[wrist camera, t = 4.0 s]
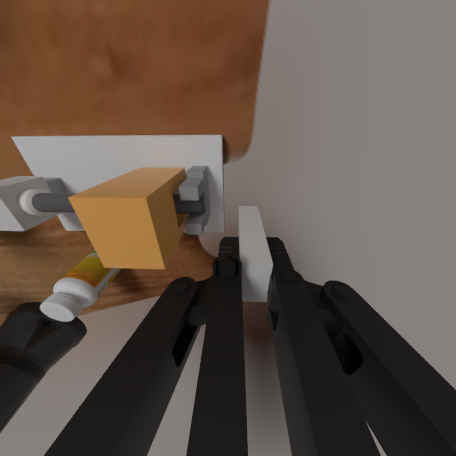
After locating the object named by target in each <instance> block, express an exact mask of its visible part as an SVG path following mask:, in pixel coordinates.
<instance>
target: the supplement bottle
mask: <svg viewBox="0 0 456 456" xmlns="http://www.w3.org/2000/svg"><path fill="white" fill-rule="evenodd" d="M121 269H122V268H104V266H103V264H102V262H101V260H100V258H99V256H98V254H97V252H96V251H95V250H94V251H93V252H91V253H90V254H89V255H88V256H87V257H85V258H84V259H83V260H82V261H81V262H80V263H79V264H77V265H76V266H75V267H74V268H73V269H72V270H70V271H69V272H68V273H67V274H66V275H65V276H63V277H62V278H61V279H60V280H59V281H58V282H57V283H56V284H55V285H54V288H53V292H54V294H52V295H51V296H49V297H48V298H47V299H46V300H45V301H44V302H43V303H42V304H41V305H40V310H41V311H42V312H43V313H44V314H45V315H47V316H48V317H50V318H52V319H55V320H58V321H63V322H68V321H72V320H73V319H74V318H75V317H76V316H77V315H78V314H79V313H80V311H81V310H82V308H84V307H88V306H90V305H92V304H93V303H94V302H95V301H96V300H97V299H98V298H99V296H100V295H101V294H102V293H103V291H104V290H105V289H106V288H107V287H108V285H109V284H110V283H111V282H112V280H113V279H114V278H115V277H116V275H117V274H118V273H119V272H120V270H121Z"/></svg>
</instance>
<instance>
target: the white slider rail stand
mask: <svg viewBox="0 0 456 456" xmlns="http://www.w3.org/2000/svg"><path fill="white" fill-rule="evenodd" d="M11 138H12V139H13V141H14V143H15V144H16V146H17V148H18V149H19V151H20V153H21V155H22V156H23V158H24V160H25V161H26V163H27V165H28V166H29V168H30V170H31V172H32V173H33V175H34V176H16V177H12V178H7V179H3V180H0V231H26V230H28V229H30V228H32V227H34V226H36V225H38V224H40V223H43V222H45V221H47V220H49V219H51V218H53V217H55V216H58V217H59V219H60V221H61V222H62V224H63V226H64V228H65V229H66V230H70V231H85V229H84V228H83V226H82V224H81V222H80V220H79V218H78V216H77V214H76V212H75V210H74V208H73V206H72V205H71V203H70V201H69V199H68V197H70V196H72V195H75V194H77V193H80V192H82V191H84V190H87V189H89V188H92V187H94V186H96V185H99V184H101V183H104V182H106V181H108V180H111V179H113V178H116V177H118V176H120V175H123V174H125V173H128V172H130V171H132V170H135V169H137V168H140V167H179V168H185V172H186V180H185V181H184V182H183V183H182V184H181V185H180V186H179V187H178V188H177V189H176V190H175V191H174V192H173V199H174V204H175V210H176V214H190V215H189V216H188V218H187V220H186V222H185V231H184V232H186V234H188V235H202V234H203V233H224V183H223V182H224V181H223V135H121V136H17V137H11Z"/></svg>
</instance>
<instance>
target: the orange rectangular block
mask: <svg viewBox="0 0 456 456" xmlns="http://www.w3.org/2000/svg"><path fill="white" fill-rule="evenodd" d="M185 180H186V172H185V168H179V167H140V168H137V169H135V170H132V171H130V172H128V173H125V174H123V175H120V176H118V177H116V178H113V179H111V180H108V181H106V182H104V183H101V184H99V185H96V186H94V187H92V188H89V189H87V190H84V191H82V192H80V193H77V194H75V195H72V196H70V197H68V199H69V201H70V203H71V205H72V206H73V208H74V210H75V212H76V214H77V216H78V218H79V220H80V222H81V224H82V226H83V228H84V229H85V231H86V233H87V235H88V237H89V239H90V241H91V243H92V245H93V247H94V249H95V251H96V252H97V254H98V256H99V258H100V260H101V262H102V264H103V266H104V268H134V269H166V267H167V265H168V263H169V261H170V259H171V257H172V255H173V253H174V251H175V249H176V247H177V245H178V243H179V241H180V239H181V237H182V235H183V233H184V231H185V222H186V220H187V218H188V216H189V215H190V214H176V210H175V204H174V199H173V192H174V191H175V190H176V189H177V188H178V187H179V186H180V185H181V184H182V183H183V182H184V181H185Z"/></svg>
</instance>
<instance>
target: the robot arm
mask: <svg viewBox="0 0 456 456" xmlns="http://www.w3.org/2000/svg"><path fill="white" fill-rule="evenodd" d="M267 296H268V301H269V306H268V312H267V319H266V321H268V320H269V321H270V327H271V333H272V338H273V345H274V351H275V357H276V363H277V369H278V374H279V381H280V386H281V392H282V399H283V405H284V411H285V417H286V423H287V429H288V434H289V441H290V447H291V453H292V456H381V455H380V453H379V451H378V449H377V446H376V444H375V442H374V439H373V437H372V435H371V432H370V430H369V428H368V426H367V423H368V425H369V427H370V428H371V430H372V432H373V433H374V435H375V437H376V438H377V440H378V442H379V443H380V445H381V447H382V448H383V450H384V452H385V453H386V455H387V456H456V390H455V389H454V388H453V387H452V386H451V385H450V384H449V383H448V382H447V381H446V380H445V379H444V378H443V377H442V376H441V375H440V374H439V373H438V372H437V371H436V370H435V369H434V368H433V367H432V366H431V365H430V364H429V363H428V362H427V361H426V360H425V359H424V358H423V357H421V355H420V354H419V353H418V352H417V351H416V350H415V349H414V348H413V347H412V346H411V345H409V343H408V342H407V341H406V340H405V339H403V338H402V337H401V336H400V335H399V334H398V333H397V332H396V331H395V330H394V329H393V328H392V327H391V326H390V325H389V324H388V323H387V322H386V321H385V320H384V319H383V318H382V317H381V316H380V315H379V314H378V313H377V312H376V311H375V310H374V309H373V308H372V307H371V306H370V305H369V304H368V303H367V302H366V301H365V300H364V299H363V298H362V297H361V296H360V295H359V294H358V293H357V292H356V291H355V290H353V289H352V288H351V287H350V286H348V285H347V284H345V283H342V282H339V281H328V282H326V283H325V284H324V286H321V285H317V284H314V283H310V282H308V281H305V280H304V279H303V278H302V276H301V275H300V274H299V273H298V272H296V271H294V268H293V266H292V263H291V261H290V258H289V256H288V253H287V251H286V249H285V246H284V243H283V242H282V241H281V240H280V239H279V238H278V237H266V236H265V232H264V228H263V225H262V221H261V217H260V214H259V209H258V206H239V216H238V237H224V238H223V239H222V240H221V242H220V248H219V254H218V257H217V258H216V259H214V261H213V275H212V276H211V277H210V278H208V279H206V280H202V281H198V282H195V280H194V279H192V278H190V277H181V278H178V279H176V280H174V281H172V282H171V283H170V284H169V285H168V287H167V288H166V290H165V291H164V292H163V294H162V295H161V296H160V298H159V299H158V301H157V302H156V303H155V305H154V306H153V307H152V309H151V310H150V311H149V313H148V314H147V316H146V317H145V318H144V320H143V321H142V322H141V324H140V325H139V326H138V328H137V329H136V331H135V332H134V333H133V335H132V336H131V338H130V339H129V340H128V341H127V343H126V344H125V346H124V347H123V349H122V350H121V351H120V353H119V354H118V355H117V357H116V358H115V359H114V361H113V362H112V363H111V365H110V366H109V367H108V369H107V370H106V372H105V373H104V374H103V376H102V377H101V379H100V380H99V381H98V382H97V384H96V385H95V387H94V388H93V389H92V391H91V392H90V393H89V395H88V396H87V397H86V399H85V400H84V402H83V403H82V404H81V406H80V407H79V409H78V410H77V411H76V413H75V414H74V415H73V417H72V418H71V419H70V421H69V422H68V423H67V425H66V426H65V428H64V429H63V430H62V432H61V433H60V434H59V436H58V437H57V438H56V440H55V441H54V443H53V444H52V445H51V447H50V448H49V449H48V451H47V452H46V453H45V455H44V456H147V454H148V451H149V449H150V447H151V444H152V442H153V439H154V437H155V435H156V433H157V430H158V428H159V425H160V423H161V421H162V418H163V416H164V413H165V411H166V409H167V406H168V404H169V401H170V399H171V397H172V394H173V392H174V390H175V387H176V385H177V382H178V380H179V378H180V375H181V373H182V370H183V368H184V365H185V363H186V361H187V359H188V356H189V353H190V351H191V349H192V347H193V344H194V341H195V339H196V337H197V334H198V332H199V330H200V328H201V325H204V324H206V330H205V337H204V343H203V349H202V356H201V362H200V369H199V376H198V382H197V389H196V396H195V403H194V409H193V416H192V422H191V429H190V435H189V442H188V449H187V455H186V456H248V445H247V418H246V417H247V416H246V389H245V361H244V333H243V308H242V307H243V306H242V301H252V302H267ZM41 304H42V303H24V304H21V305H20V306H18V307H17V308H16V309H15V310H14V311H12V312H11V313H10V314H9V315H8V316H7V317H6V319H5V321H4V323H3V324H2V325H1V326H0V433H1V431H2V430H3V429H4V428H5V426H6V425H7V424H8V422H9V421H10V420H11V418H12V417H13V416H14V414H15V413H16V412H17V410H18V409H19V408H20V407H21V405H22V404H23V403H24V401H25V400H26V399H27V398H28V396H29V395H30V393H31V392H32V391H33V390H34V388H35V387H36V386H37V384H38V383H39V382H40V380H41V379H42V378H43V377H44V375H45V374H46V373H47V372H48V370H49V369H50V368H51V367H52V366H53V365H54V364H56V363H57V362H58V361H59V360H60V359H61V358H62V357H63V356H64V355H65V354H66V353H67V352H69V351H70V349H72V348H73V347H75V346H76V345H77V344H79V342H80V341H81V340H82V338H83V337H84V336H85V334H86V332H87V329H86V327H85V325H84V324H83V322H82V321H81V320H80V319H78V318H77V317H75V318H74V319H73V320H72V321H68V322H63V321H58V320H55V319H52V318H50V317H48V316H47V315H45V314H44V313H43V312H42V311H41V310H40V305H41ZM364 418H365V419H364ZM365 420H366V421H365ZM366 422H367V423H366Z"/></svg>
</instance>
